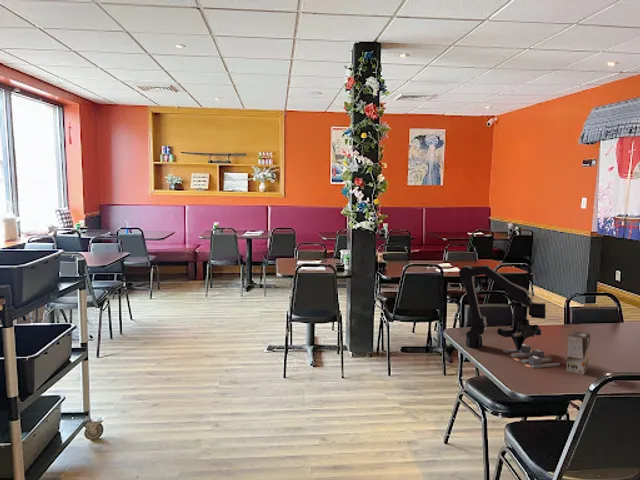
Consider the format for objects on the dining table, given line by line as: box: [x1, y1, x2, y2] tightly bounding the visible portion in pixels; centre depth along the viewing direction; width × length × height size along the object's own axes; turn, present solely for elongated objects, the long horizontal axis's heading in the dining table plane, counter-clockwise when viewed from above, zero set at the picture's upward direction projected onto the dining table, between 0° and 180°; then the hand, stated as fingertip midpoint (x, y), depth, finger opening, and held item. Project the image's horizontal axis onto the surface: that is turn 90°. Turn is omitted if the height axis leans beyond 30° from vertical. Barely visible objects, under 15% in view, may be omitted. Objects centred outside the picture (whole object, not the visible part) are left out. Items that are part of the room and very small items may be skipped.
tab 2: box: [530, 348, 545, 358], centre depth 202 cm, size 4×3×4 cm
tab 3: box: [528, 356, 543, 366], centre depth 194 cm, size 4×3×4 cm
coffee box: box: [565, 330, 591, 375], centre depth 189 cm, size 9×6×16 cm
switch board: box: [503, 348, 561, 369], centre depth 202 cm, size 16×20×2 cm
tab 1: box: [518, 343, 532, 353], centre depth 209 cm, size 4×3×4 cm
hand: (518, 350), depth 209 cm, fingers closed
